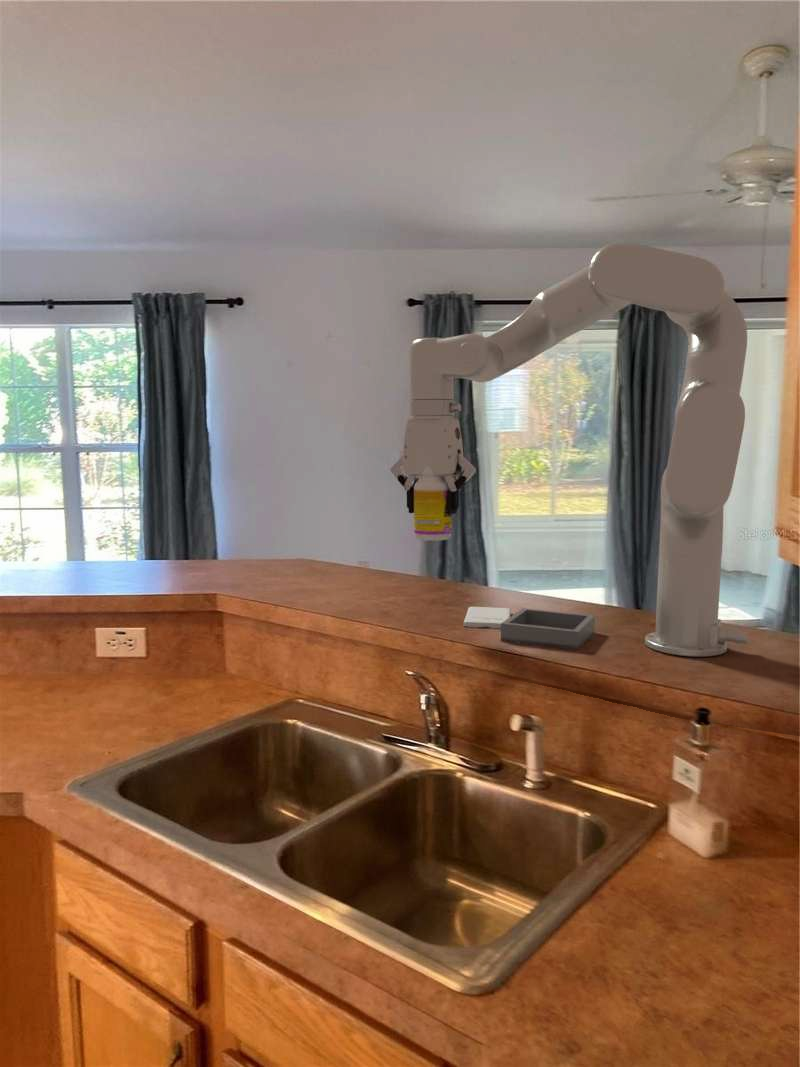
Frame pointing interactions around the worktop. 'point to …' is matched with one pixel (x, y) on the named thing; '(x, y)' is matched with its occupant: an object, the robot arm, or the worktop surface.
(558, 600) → the worktop surface
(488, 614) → the external hard drive
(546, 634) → the tray
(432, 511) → the supplement bottle
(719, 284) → the robot arm
